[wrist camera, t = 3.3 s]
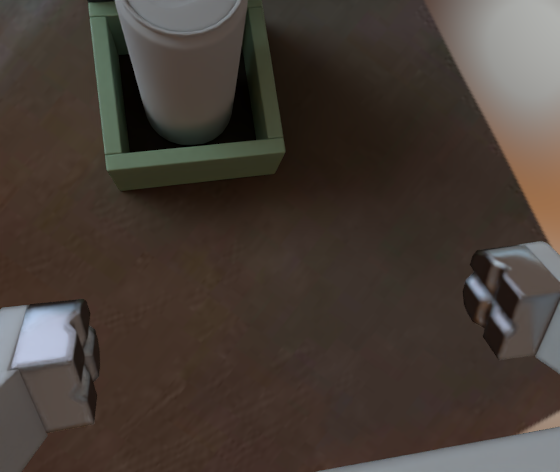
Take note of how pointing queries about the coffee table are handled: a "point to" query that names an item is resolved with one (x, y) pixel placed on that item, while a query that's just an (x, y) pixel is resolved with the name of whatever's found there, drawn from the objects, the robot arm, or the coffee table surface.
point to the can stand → (198, 159)
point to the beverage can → (185, 63)
